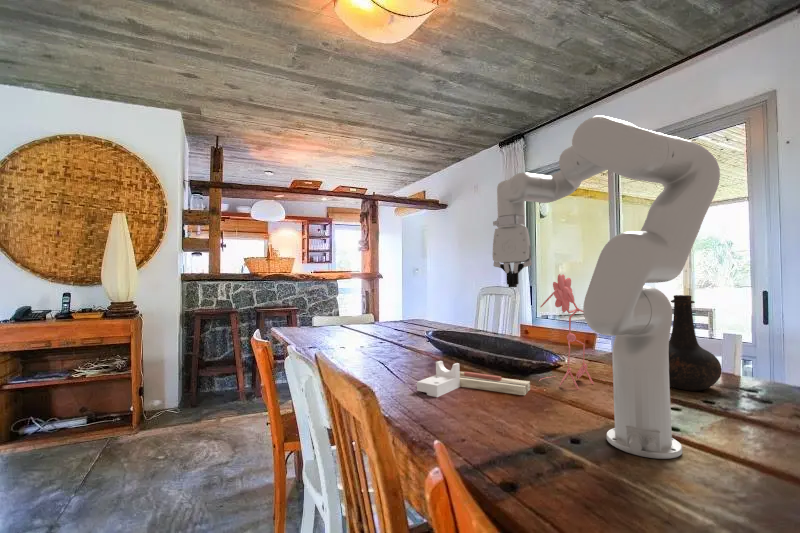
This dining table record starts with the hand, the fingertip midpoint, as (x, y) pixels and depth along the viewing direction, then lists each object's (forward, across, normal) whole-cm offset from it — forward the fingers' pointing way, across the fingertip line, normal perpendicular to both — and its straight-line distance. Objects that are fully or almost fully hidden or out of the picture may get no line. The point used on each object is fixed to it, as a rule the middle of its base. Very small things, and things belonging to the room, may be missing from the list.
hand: (512, 287), depth 109 cm
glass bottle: (+31, +42, +35) cm, 63 cm away
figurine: (+31, +10, +23) cm, 40 cm away
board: (+31, -10, +6) cm, 33 cm away
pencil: (+29, -12, +7) cm, 32 cm away
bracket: (+32, -22, -4) cm, 39 cm away
